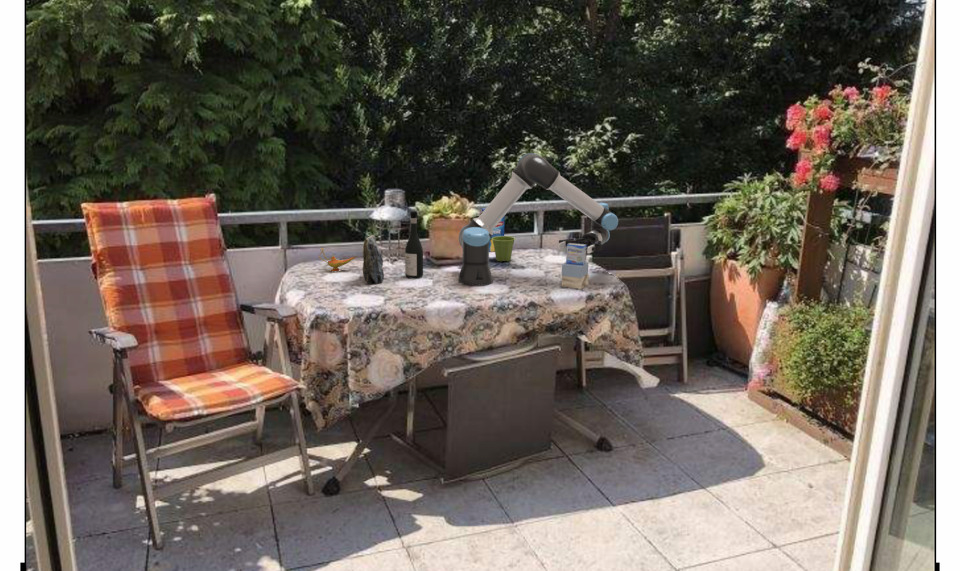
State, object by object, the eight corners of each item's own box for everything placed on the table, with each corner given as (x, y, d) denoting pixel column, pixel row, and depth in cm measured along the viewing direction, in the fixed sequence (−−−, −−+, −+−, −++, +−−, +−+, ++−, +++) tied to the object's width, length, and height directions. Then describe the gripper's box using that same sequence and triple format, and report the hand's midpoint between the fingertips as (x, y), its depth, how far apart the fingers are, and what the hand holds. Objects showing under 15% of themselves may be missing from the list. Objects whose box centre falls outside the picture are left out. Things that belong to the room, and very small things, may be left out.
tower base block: (580, 289, 336) (581, 278, 335) (561, 286, 340) (562, 275, 339) (588, 284, 344) (588, 273, 342) (569, 282, 348) (570, 271, 347)
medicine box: (565, 263, 339) (566, 244, 337) (568, 261, 343) (569, 242, 341) (583, 265, 336) (584, 246, 334) (585, 263, 340) (586, 244, 338)
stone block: (383, 285, 338) (382, 240, 333) (362, 285, 337) (361, 240, 332) (385, 274, 355) (385, 232, 350) (366, 274, 355) (365, 231, 350)
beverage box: (504, 250, 409) (504, 209, 403) (485, 252, 404) (486, 210, 399) (498, 248, 415) (498, 207, 409) (479, 249, 410) (480, 208, 405)
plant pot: (503, 256, 395) (503, 235, 392) (519, 260, 387) (520, 238, 384) (486, 260, 387) (486, 237, 384) (502, 264, 379) (503, 241, 376)
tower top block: (581, 278, 335) (581, 266, 334) (561, 275, 339) (562, 264, 337) (587, 273, 343) (588, 262, 341) (568, 271, 347) (569, 260, 345)
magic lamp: (358, 272, 359) (357, 248, 357) (318, 272, 358) (317, 249, 355) (359, 268, 366) (358, 245, 363) (320, 269, 364) (319, 246, 361)
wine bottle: (413, 279, 347) (413, 213, 339) (401, 276, 352) (400, 211, 345) (426, 276, 353) (426, 211, 345) (414, 273, 358) (414, 209, 350)
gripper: (616, 251, 348) (600, 260, 330) (565, 245, 360) (546, 253, 342) (617, 235, 346) (601, 243, 328) (566, 229, 358) (547, 237, 340)
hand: (573, 248), depth 335 cm, fingers open, 13 cm apart
